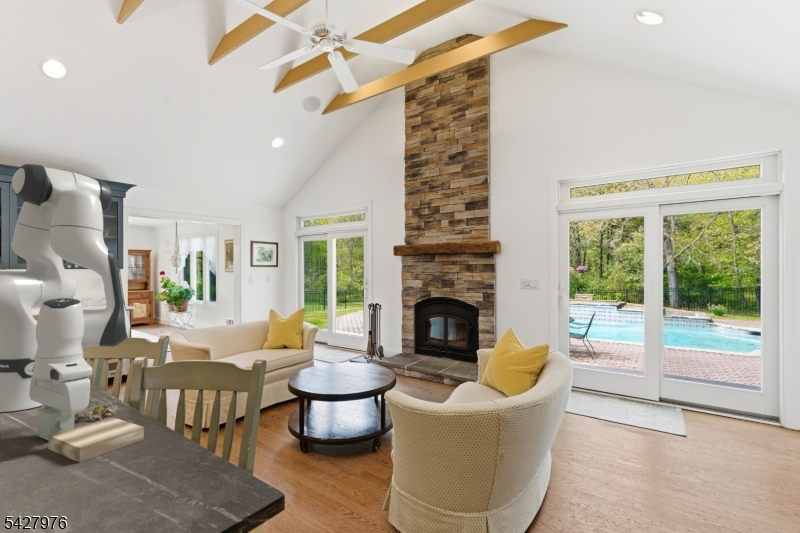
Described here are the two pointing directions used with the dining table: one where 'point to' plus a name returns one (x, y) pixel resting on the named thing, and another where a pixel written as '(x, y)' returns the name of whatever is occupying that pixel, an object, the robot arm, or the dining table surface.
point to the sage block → (51, 422)
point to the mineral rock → (95, 413)
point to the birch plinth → (95, 439)
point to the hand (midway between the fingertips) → (56, 424)
